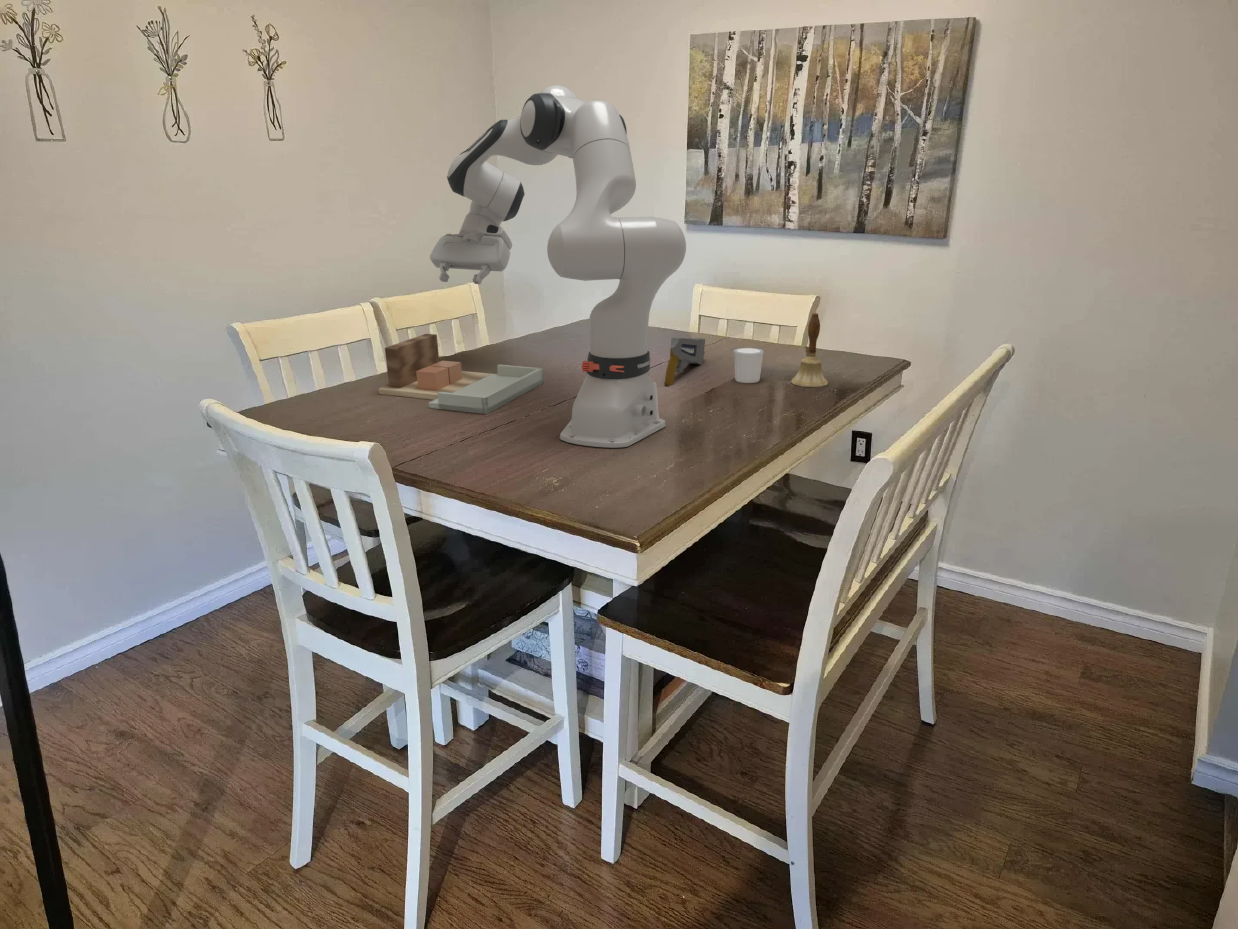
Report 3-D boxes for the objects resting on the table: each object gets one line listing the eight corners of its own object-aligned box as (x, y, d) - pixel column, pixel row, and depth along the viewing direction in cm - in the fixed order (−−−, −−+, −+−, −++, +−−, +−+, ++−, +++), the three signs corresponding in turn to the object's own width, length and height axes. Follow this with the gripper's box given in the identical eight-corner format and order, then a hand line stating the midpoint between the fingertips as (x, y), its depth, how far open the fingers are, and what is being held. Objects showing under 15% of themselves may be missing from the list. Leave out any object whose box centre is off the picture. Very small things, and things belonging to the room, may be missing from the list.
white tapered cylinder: (763, 377, 196) (765, 347, 193) (760, 384, 190) (761, 354, 187) (734, 375, 198) (735, 346, 195) (730, 382, 191) (731, 352, 189)
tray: (486, 414, 171) (485, 397, 170) (428, 407, 176) (427, 391, 175) (543, 382, 194) (542, 368, 192) (491, 377, 199) (490, 363, 197)
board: (445, 401, 181) (444, 395, 180) (378, 393, 187) (378, 388, 186) (491, 378, 198) (491, 373, 198) (429, 372, 204) (429, 367, 204)
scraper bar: (400, 388, 187) (395, 348, 183) (389, 387, 188) (384, 347, 184) (440, 371, 200) (436, 334, 197) (429, 370, 201) (426, 333, 198)
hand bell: (831, 380, 192) (836, 311, 187) (823, 389, 185) (829, 317, 180) (795, 376, 196) (800, 309, 190) (787, 385, 189) (791, 315, 183)
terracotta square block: (450, 384, 189) (449, 367, 188) (431, 382, 191) (430, 365, 189) (462, 379, 193) (460, 362, 192) (444, 377, 195) (442, 360, 194)
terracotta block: (436, 390, 184) (435, 372, 183) (417, 388, 186) (416, 371, 185) (449, 384, 189) (447, 367, 187) (430, 383, 190) (429, 366, 189)
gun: (700, 398, 211) (708, 339, 211) (671, 385, 188) (680, 319, 188) (688, 396, 212) (696, 338, 212) (658, 384, 189) (666, 318, 189)
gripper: (436, 225, 207) (417, 271, 202) (508, 228, 200) (490, 275, 195) (447, 241, 213) (429, 286, 208) (518, 245, 205) (500, 291, 201)
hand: (459, 281), depth 201 cm, fingers open, 8 cm apart
